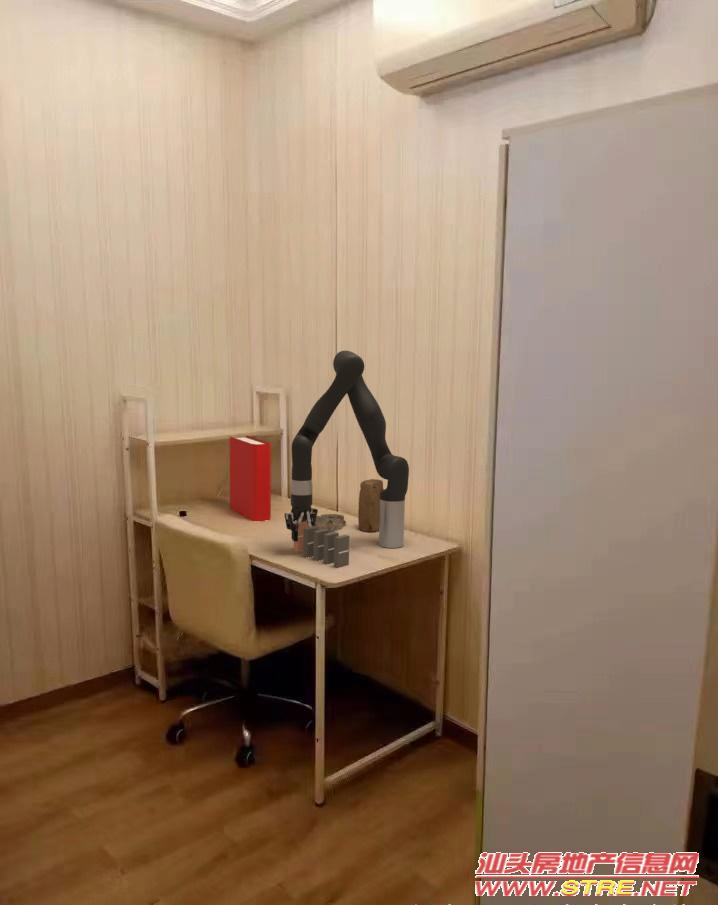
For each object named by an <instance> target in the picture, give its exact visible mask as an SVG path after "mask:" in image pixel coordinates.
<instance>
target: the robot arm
mask: <svg viewBox="0 0 718 905" xmlns="http://www.w3.org/2000/svg"><path fill="white" fill-rule="evenodd" d="M332 362H333V363H332V365H333V371H335V377H334V378H333V381H332V383H331V384H330V385H329V387H328V389H327V390H326V391H325V392H324V393H323V394H322V395H321V396H320V397H319V399H318V400H317V401H316V402H315V403H314V404H313V406H312V408H311V409H310V410H309V411H310V412H309V413H308V415H306V418H305V419H304V423H303V424H302V426H301V427H300V429H299V430H298V432H297V433H296V434H295V435H294V438H293V439H292V442H291V463H292V467H291V480H290V481H291V482H290V506H291V510H290V512H288V513H287V512H285V513H284V519H285V525H286V526H285V527H286V529H287V530H290V532H291V540H292V541H293V542H294V541H295V542H297V541H298V527H299V525H300V524H301V521H303V520H304V521H305V520H306V521H307V523H308V527H312V526H314V525H315V523H316V518H317V516H318V512H319V510H318V509H317V508H314V507H312V506H313V488H314V486H313V466H312V456H313V447H314V446H315V443H316V441H317V439H318V438H319V436H320V434H321V433H322V432H323V431H324V429H325V427H326V426H327V424H328V422H329V421H330V419H331V417H332V415H333V414H334V412H335V411H336V409H337V408H338V406H339V404H340V403H341V402H342V400H343V399H344V398H345V396H346V395H347V397H348V400H349V402H350V406H351V408H352V410H353V413H354V417H355V419H356V421H357V423H358V427H359V428H360V431H361V432H362V434H363V437H364V440H365V442H366V444H367V446H368V449H369V451H370V454H371V458H372V461H373V463H374V468H375V470H376V473H377V474H378V476H379V477H380V478H381V479H383V480H387V483H386V488H385V489H384V488H383V489H384V490H382V491H381V492H380V512H379V531H378V546H380V547H383V548H387V549H397V548H402V547H404V546H405V544H404V543H405V542H404V540H405V510H406V507H405V506H406V495H407V492H408V489H409V488H408V487H409V475H410V467H409V463H408V460H407V459H405V458H404V457H402V456H398V455H394V454H393V453H392V452H391V450H390V448H389V445H388V443H387V439H386V432H387V422H386V419H385V416H384V413H383V411H382V409H381V406H380V405H379V403H378V401H377V400H376V397H375V396H374V395H373V393H372V392H371V390H370V389H369V387H368V385H367V384H366V382H365V379H364V377H363V374H364V371H365V362H364V360H363V358H362V357H361V356H360V355H358V354H357V353H355V352H353V351H350V350H341V351H339V352H337V353H336V354H335V356H334V358H333V361H332ZM312 518H313V521H312ZM296 521H297V522H296ZM294 524H296V525H295V527H294Z"/></svg>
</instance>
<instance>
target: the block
mask: <svg viewBox="0 0 718 905" xmlns="http://www.w3.org/2000/svg"><path fill="white" fill-rule="evenodd" d="M382 490H384V482H383V480H382V479H376V478H371V479H365V480H363V481H361V482H360V490H359V496H358V515H357V517H358V518H357V519H358V520H357V521H358V529H360V530H361V531H363V532H368V533H371V532H373V533H375V532H374V531H376V532H379V531H378V530H379V512H380V492H381V491H382Z"/></svg>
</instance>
